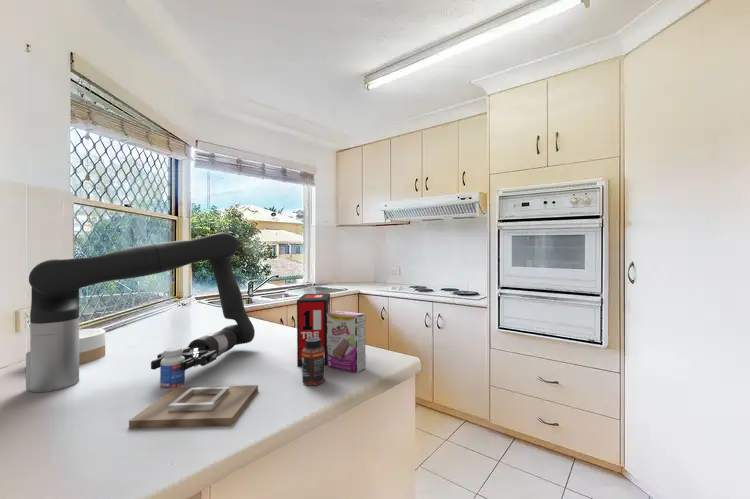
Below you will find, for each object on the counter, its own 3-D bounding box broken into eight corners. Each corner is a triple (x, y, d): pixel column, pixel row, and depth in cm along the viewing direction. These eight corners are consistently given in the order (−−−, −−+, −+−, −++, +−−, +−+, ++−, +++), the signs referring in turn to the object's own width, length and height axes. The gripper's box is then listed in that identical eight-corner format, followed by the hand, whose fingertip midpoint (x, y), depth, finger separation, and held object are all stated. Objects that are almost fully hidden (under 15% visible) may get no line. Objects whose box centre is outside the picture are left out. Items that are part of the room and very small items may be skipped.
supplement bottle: (329, 379, 87) (329, 337, 88) (316, 388, 82) (316, 343, 82) (311, 376, 90) (310, 335, 90) (297, 384, 85) (297, 340, 85)
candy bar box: (325, 367, 97) (325, 312, 97) (336, 362, 101) (335, 309, 101) (356, 374, 91) (356, 315, 91) (366, 368, 95) (365, 313, 96)
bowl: (96, 349, 119) (96, 326, 119) (112, 357, 109) (112, 332, 109) (28, 362, 105) (29, 336, 105) (39, 373, 95) (39, 344, 95)
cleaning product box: (327, 365, 98) (326, 299, 99) (297, 366, 98) (296, 300, 98) (330, 349, 115) (329, 293, 115) (305, 350, 114) (304, 293, 115)
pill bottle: (173, 392, 80) (173, 352, 81) (154, 390, 81) (154, 351, 82) (189, 383, 86) (189, 346, 86) (172, 382, 87) (172, 345, 87)
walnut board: (128, 428, 64) (128, 414, 64) (175, 393, 80) (175, 382, 80) (232, 425, 64) (232, 411, 65) (258, 391, 80) (257, 380, 81)
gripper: (186, 334, 99) (141, 350, 83) (230, 335, 97) (192, 352, 81) (187, 359, 99) (141, 380, 83) (230, 360, 97) (192, 382, 81)
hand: (166, 366), depth 82 cm, fingers open, 8 cm apart
